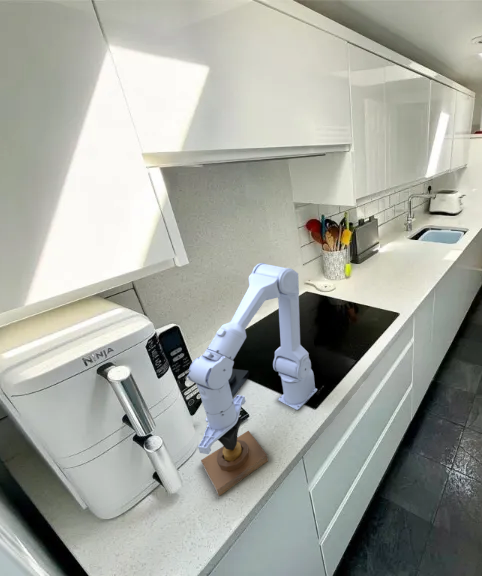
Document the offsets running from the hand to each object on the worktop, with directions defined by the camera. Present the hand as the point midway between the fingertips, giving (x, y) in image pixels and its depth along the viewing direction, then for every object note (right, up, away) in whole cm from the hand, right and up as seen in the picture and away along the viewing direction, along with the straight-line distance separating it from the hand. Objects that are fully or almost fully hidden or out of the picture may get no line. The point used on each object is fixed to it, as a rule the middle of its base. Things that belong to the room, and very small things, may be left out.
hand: (231, 446), depth 73 cm
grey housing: (-14, +6, +26) cm, 30 cm away
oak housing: (0, -5, +3) cm, 6 cm away
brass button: (0, -2, +1) cm, 2 cm away
